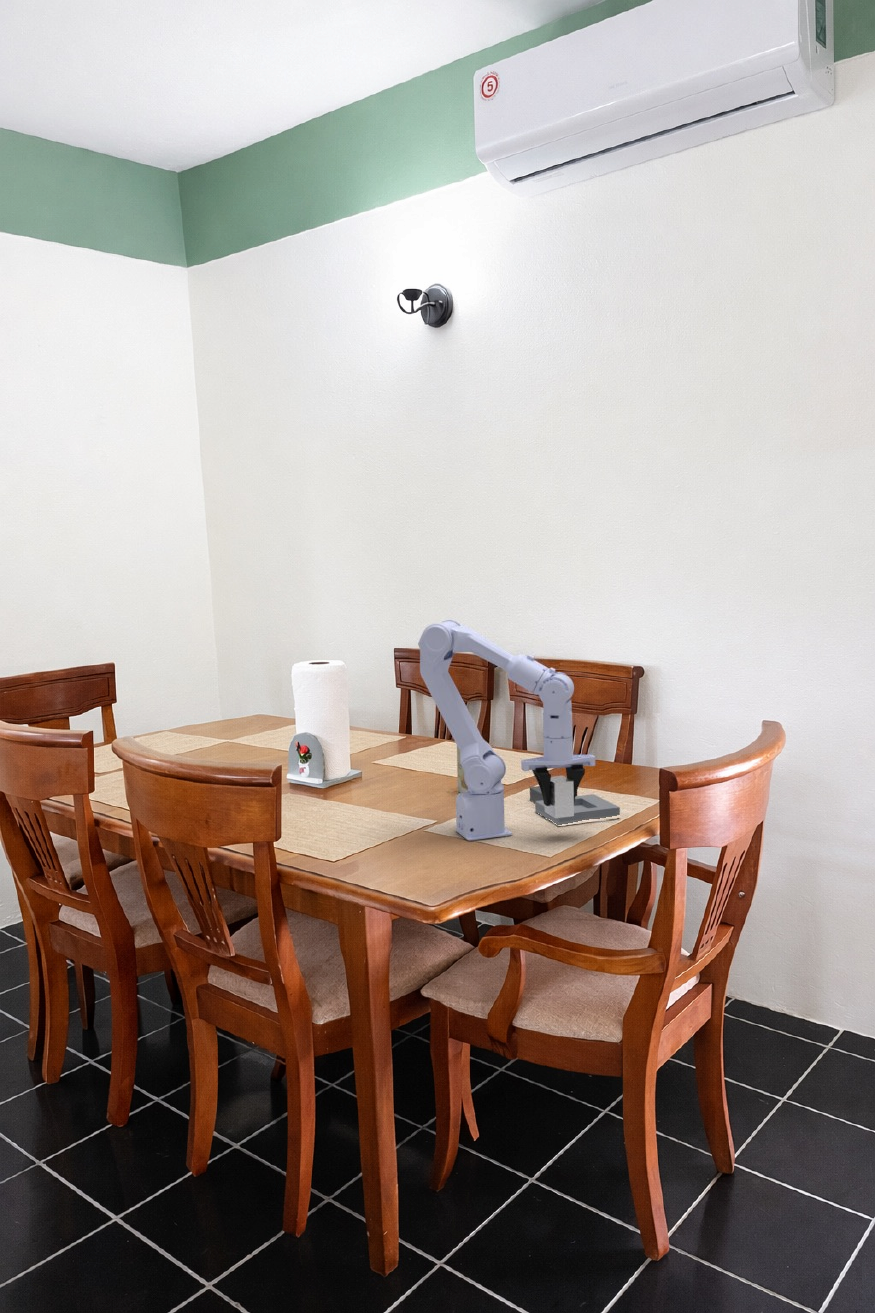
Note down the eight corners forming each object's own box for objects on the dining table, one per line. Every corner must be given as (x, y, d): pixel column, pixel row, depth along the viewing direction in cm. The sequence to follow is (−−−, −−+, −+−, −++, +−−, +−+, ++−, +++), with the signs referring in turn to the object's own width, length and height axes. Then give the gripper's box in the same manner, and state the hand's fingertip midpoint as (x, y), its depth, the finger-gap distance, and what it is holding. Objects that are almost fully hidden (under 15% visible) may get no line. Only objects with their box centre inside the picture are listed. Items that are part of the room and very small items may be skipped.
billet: (555, 818, 194) (554, 783, 193) (544, 812, 198) (544, 777, 197) (573, 816, 195) (573, 781, 194) (563, 809, 199) (562, 775, 199)
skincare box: (457, 791, 237) (455, 740, 235) (473, 788, 238) (472, 738, 237) (467, 797, 231) (465, 745, 229) (484, 794, 232) (483, 743, 231)
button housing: (544, 808, 219) (544, 795, 218) (530, 800, 226) (529, 787, 226) (577, 804, 221) (577, 791, 221) (562, 796, 229) (561, 783, 228)
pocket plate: (558, 826, 205) (558, 815, 204) (535, 812, 216) (535, 801, 216) (619, 818, 209) (619, 807, 208) (593, 805, 220) (593, 794, 220)
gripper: (586, 729, 200) (587, 796, 202) (516, 734, 197) (518, 801, 199) (598, 736, 193) (599, 804, 195) (526, 741, 190) (527, 810, 192)
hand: (559, 803), depth 196 cm, fingers closed on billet, 4 cm apart
